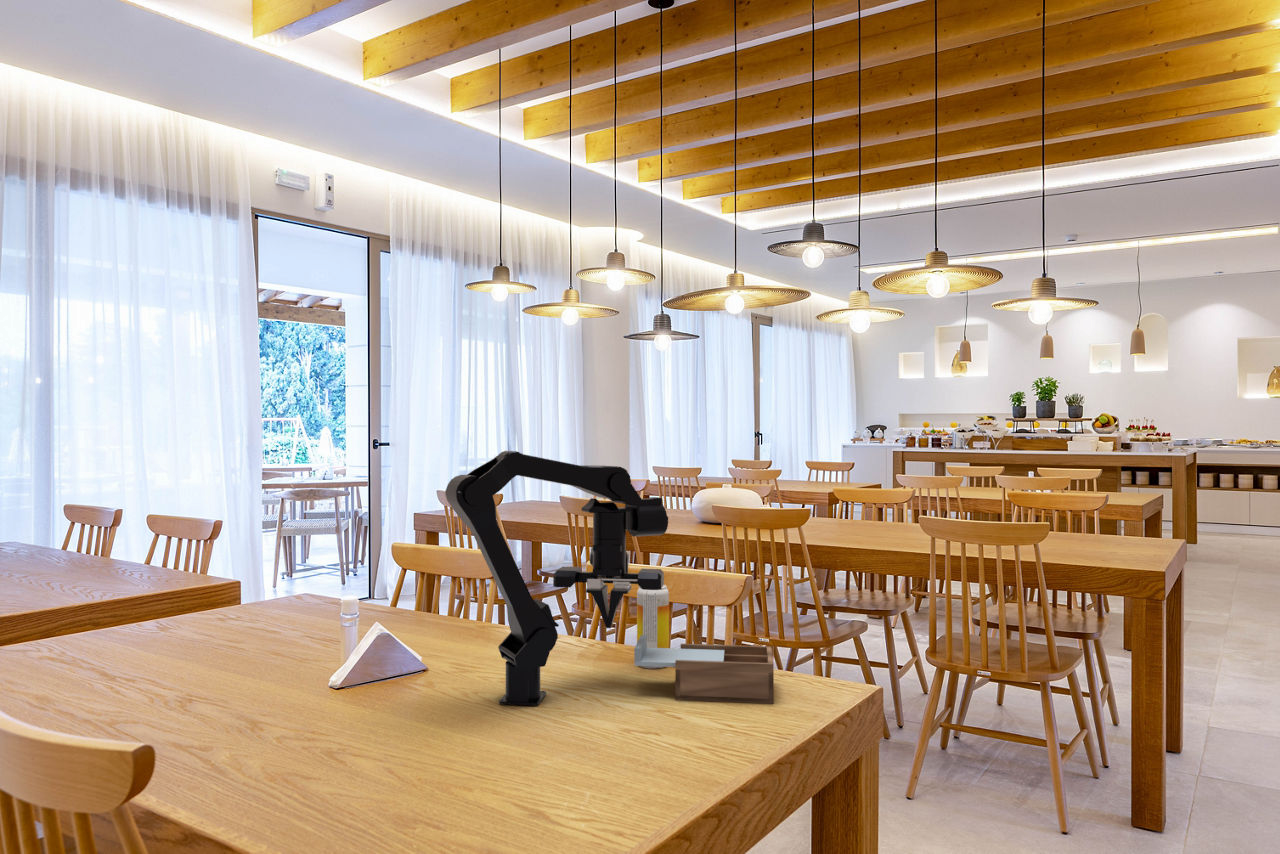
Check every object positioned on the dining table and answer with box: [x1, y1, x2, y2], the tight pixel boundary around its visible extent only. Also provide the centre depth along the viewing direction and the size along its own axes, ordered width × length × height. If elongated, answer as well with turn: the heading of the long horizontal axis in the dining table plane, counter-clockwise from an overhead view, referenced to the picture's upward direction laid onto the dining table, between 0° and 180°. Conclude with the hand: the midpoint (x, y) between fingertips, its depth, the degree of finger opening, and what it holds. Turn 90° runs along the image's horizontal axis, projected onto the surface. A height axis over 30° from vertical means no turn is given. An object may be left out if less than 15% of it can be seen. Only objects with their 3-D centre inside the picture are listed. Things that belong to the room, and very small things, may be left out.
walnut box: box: [674, 643, 775, 705], centre depth 144 cm, size 12×16×6 cm
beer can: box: [636, 584, 670, 670], centre depth 161 cm, size 6×6×15 cm
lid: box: [633, 635, 724, 668], centre depth 145 cm, size 10×15×3 cm, turn 83°
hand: (608, 627), depth 147 cm, fingers closed
